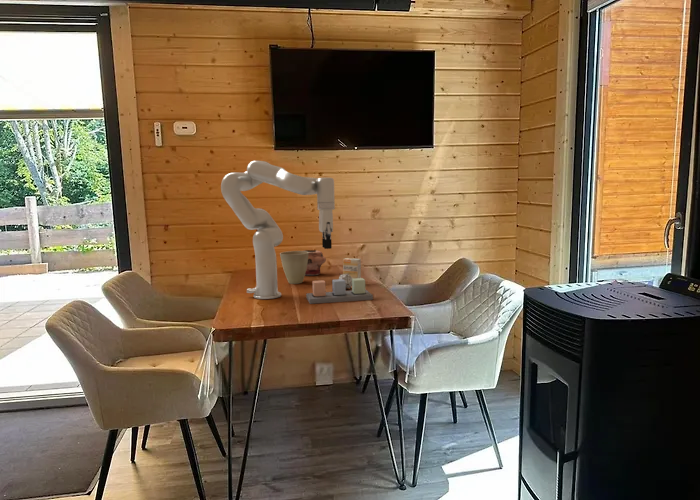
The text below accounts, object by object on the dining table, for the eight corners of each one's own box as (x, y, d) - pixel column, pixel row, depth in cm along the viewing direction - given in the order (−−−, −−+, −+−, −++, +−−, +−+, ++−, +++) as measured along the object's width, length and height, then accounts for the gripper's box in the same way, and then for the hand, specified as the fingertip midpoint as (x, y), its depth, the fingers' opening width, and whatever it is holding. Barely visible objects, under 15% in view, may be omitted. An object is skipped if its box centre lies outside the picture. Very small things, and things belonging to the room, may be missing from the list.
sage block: (354, 293, 219) (354, 280, 218) (351, 291, 223) (351, 278, 223) (365, 293, 220) (365, 279, 219) (362, 290, 225) (362, 277, 224)
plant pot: (305, 279, 268) (305, 250, 266) (312, 284, 254) (311, 253, 252) (278, 281, 263) (277, 251, 261) (283, 286, 249) (282, 255, 247)
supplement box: (342, 284, 252) (342, 259, 250) (346, 282, 256) (346, 257, 255) (357, 285, 249) (357, 259, 247) (361, 283, 253) (360, 258, 252)
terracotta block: (314, 296, 215) (314, 283, 214) (312, 294, 220) (312, 280, 219) (325, 295, 216) (325, 282, 215) (323, 293, 221) (323, 280, 220)
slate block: (334, 295, 217) (334, 281, 216) (332, 292, 222) (332, 279, 221) (345, 294, 218) (345, 281, 217) (343, 292, 223) (343, 279, 222)
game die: (348, 297, 239) (352, 283, 232) (332, 290, 240) (335, 276, 233) (354, 285, 245) (358, 271, 239) (339, 279, 247) (342, 265, 240)
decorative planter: (290, 277, 275) (289, 252, 273) (292, 273, 287) (291, 249, 285) (325, 276, 275) (325, 251, 273) (326, 272, 287) (325, 248, 285)
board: (309, 303, 211) (309, 299, 211) (306, 297, 223) (306, 293, 223) (372, 299, 217) (372, 295, 217) (366, 293, 229) (366, 289, 228)
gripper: (314, 205, 221) (315, 246, 223) (320, 207, 205) (321, 250, 207) (331, 205, 222) (331, 245, 225) (338, 206, 206) (339, 250, 209)
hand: (326, 247), depth 216 cm, fingers open, 3 cm apart
